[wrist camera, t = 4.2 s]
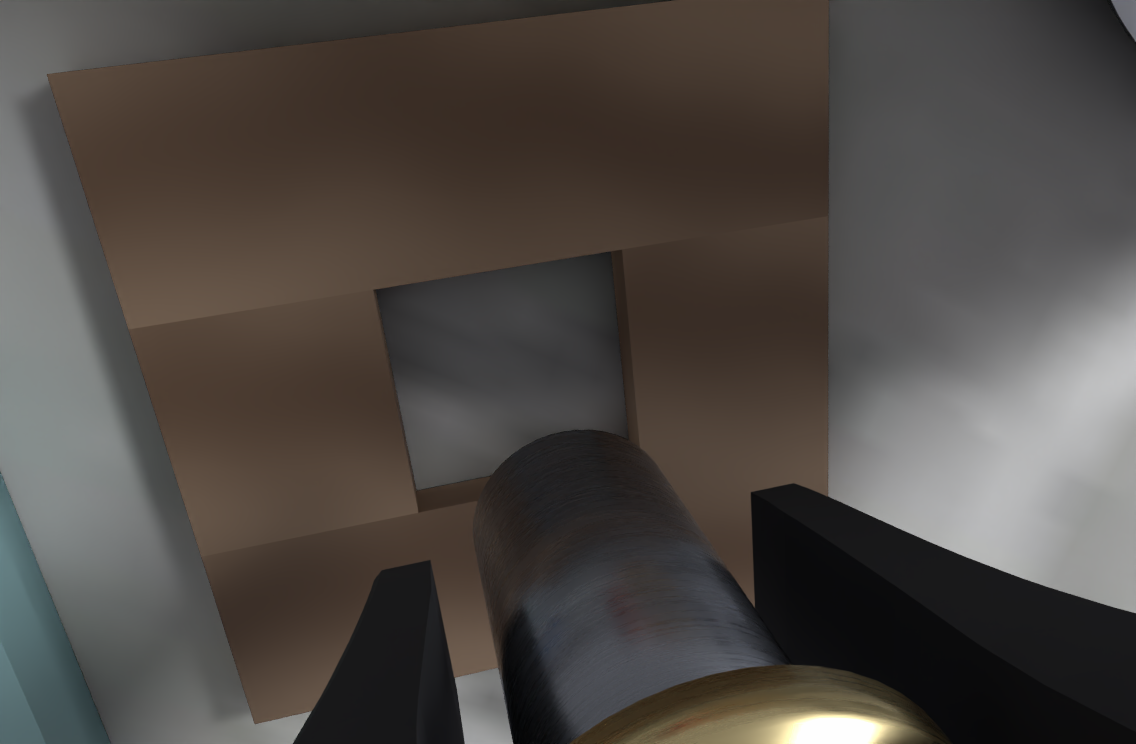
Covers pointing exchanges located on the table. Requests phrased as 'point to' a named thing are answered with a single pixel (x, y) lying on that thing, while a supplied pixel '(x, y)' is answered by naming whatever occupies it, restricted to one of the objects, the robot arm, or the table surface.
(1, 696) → the teal tray
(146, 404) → the table surface
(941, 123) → the table surface
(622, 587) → the gunmetal pin
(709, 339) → the walnut socket
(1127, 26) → the milk container
